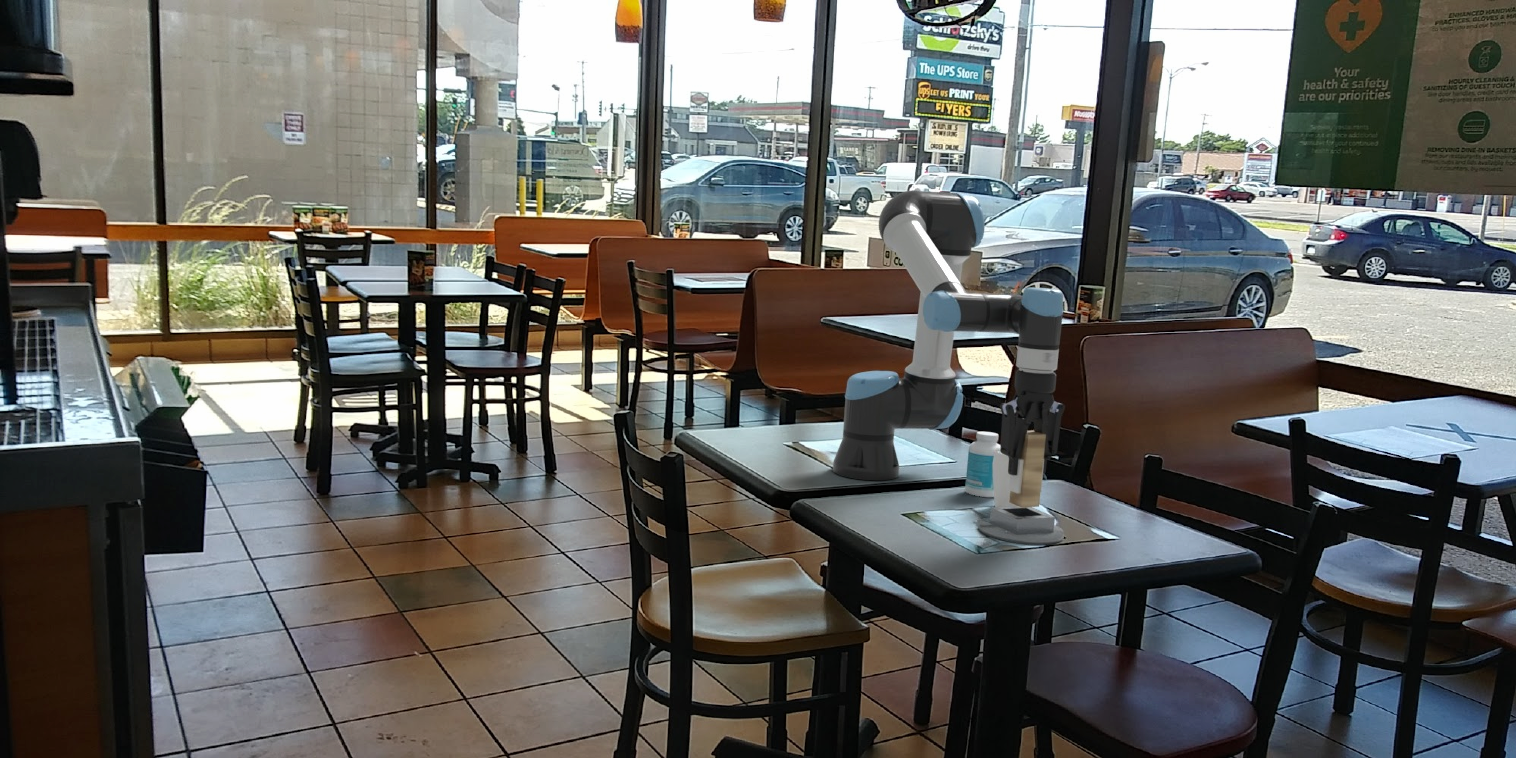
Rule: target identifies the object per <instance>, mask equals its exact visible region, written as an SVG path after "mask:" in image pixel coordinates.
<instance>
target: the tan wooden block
mask: <svg viewBox="0 0 1516 758" xmlns="http://www.w3.org/2000/svg"><path fill="white" fill-rule="evenodd" d="M1045 439H1046V434H1042V433H1038V432H1035V431H1034V430H1027V434H1026V436H1025V442H1024V445H1023V449H1022V453H1021V457H1020V459H1023V460H1024V462H1023V473H1022V484H1021V493H1015V492H1013V491H1010V500H1009V502H1010V503H1012V504H1014V505H1017V506H1019V507H1021V508H1023V507H1033V508H1037V507H1040V500H1041V492H1042V489H1041V481H1042V482H1043V478H1042V470H1043V460H1044V449H1045ZM1040 491H1041V492H1040Z"/></svg>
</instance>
